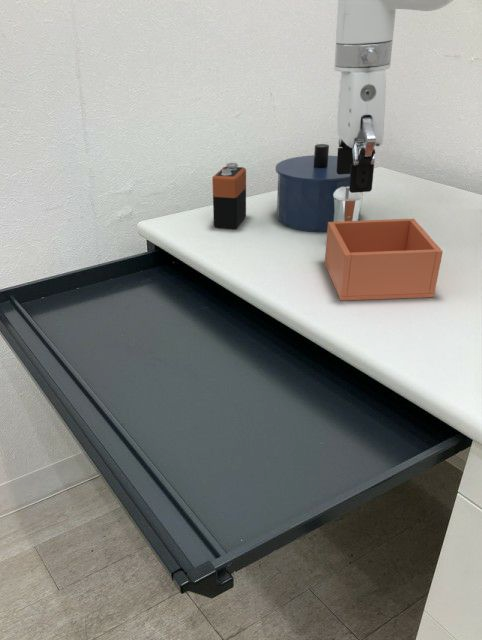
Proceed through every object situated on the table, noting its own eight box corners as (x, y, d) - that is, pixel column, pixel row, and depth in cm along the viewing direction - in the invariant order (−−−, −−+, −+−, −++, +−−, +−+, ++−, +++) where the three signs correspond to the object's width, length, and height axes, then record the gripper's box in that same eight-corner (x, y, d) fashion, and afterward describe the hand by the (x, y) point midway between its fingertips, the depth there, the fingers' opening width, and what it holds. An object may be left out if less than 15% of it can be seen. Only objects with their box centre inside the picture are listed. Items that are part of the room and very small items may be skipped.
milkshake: (326, 249, 95) (331, 187, 90) (331, 237, 100) (336, 177, 94) (355, 252, 94) (362, 188, 89) (358, 239, 98) (365, 178, 93)
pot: (349, 203, 114) (354, 157, 109) (367, 230, 102) (373, 180, 97) (273, 206, 114) (274, 161, 110) (282, 233, 102) (283, 184, 98)
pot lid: (354, 159, 111) (357, 133, 108) (375, 183, 98) (379, 154, 95) (270, 163, 111) (271, 137, 108) (281, 187, 98) (282, 159, 95)
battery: (246, 217, 110) (246, 161, 104) (236, 230, 104) (236, 172, 99) (224, 215, 111) (223, 160, 105) (212, 228, 106) (211, 171, 100)
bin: (407, 260, 91) (414, 218, 87) (433, 297, 80) (443, 251, 77) (324, 263, 91) (327, 221, 87) (340, 300, 81) (345, 255, 77)
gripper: (408, 62, 74) (392, 197, 84) (374, 48, 89) (364, 165, 98) (348, 66, 75) (339, 201, 84) (324, 52, 89) (319, 168, 99)
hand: (353, 182), depth 91 cm, fingers open, 9 cm apart
